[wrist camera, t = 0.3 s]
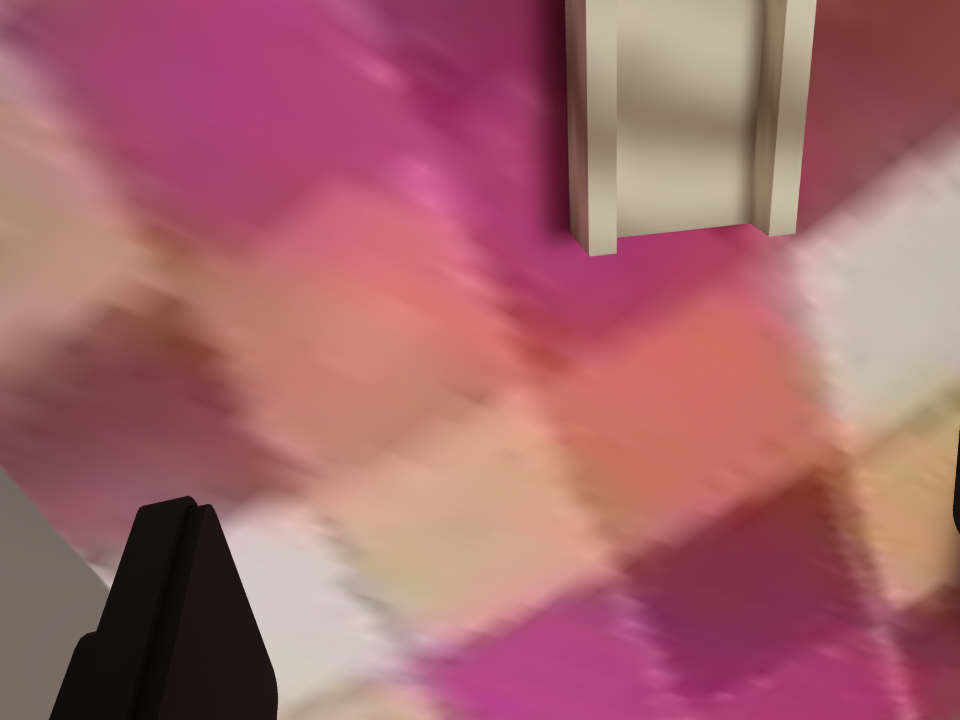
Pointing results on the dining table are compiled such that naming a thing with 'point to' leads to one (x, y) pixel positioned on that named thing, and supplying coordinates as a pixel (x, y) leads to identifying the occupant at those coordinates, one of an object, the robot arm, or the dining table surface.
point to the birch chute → (685, 115)
